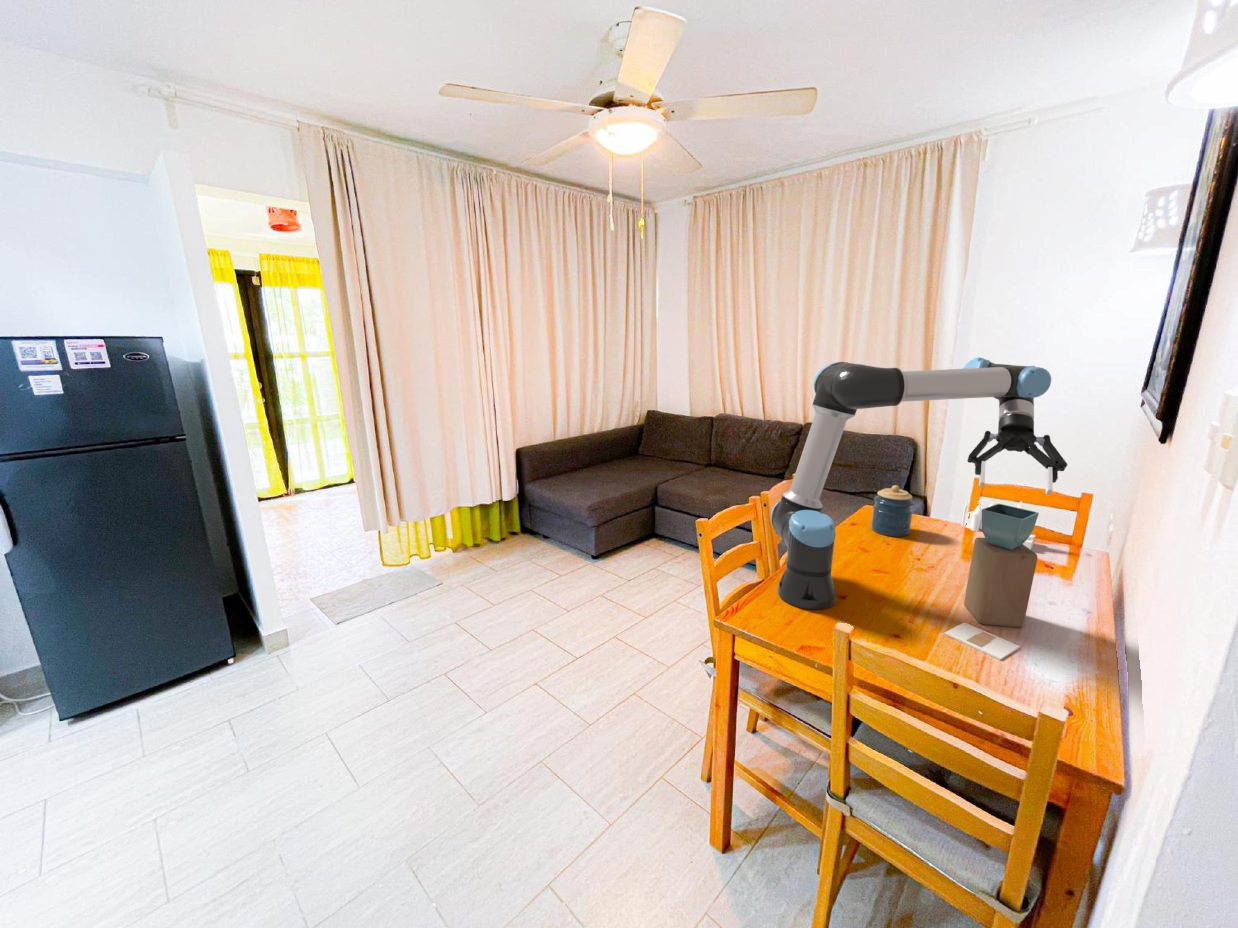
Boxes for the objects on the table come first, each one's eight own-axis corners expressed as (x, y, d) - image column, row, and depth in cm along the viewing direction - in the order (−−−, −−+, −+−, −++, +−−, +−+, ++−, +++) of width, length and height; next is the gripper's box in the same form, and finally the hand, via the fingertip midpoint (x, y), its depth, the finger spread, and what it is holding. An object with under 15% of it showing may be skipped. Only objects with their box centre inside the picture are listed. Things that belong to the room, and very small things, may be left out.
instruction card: (944, 634, 123) (944, 632, 123) (963, 623, 127) (964, 621, 127) (1000, 660, 113) (1000, 658, 113) (1019, 647, 117) (1020, 645, 117)
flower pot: (975, 542, 127) (980, 508, 124) (992, 535, 131) (998, 502, 129) (1016, 555, 119) (1023, 519, 117) (1032, 547, 124) (1039, 512, 121)
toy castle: (1027, 552, 168) (1037, 506, 164) (952, 527, 190) (959, 486, 186) (1052, 545, 174) (1061, 500, 170) (976, 522, 196) (983, 482, 192)
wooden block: (1024, 629, 124) (1040, 554, 120) (979, 625, 126) (993, 551, 122) (1003, 608, 134) (1017, 538, 129) (961, 605, 136) (973, 535, 131)
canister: (879, 522, 197) (885, 478, 192) (915, 531, 187) (922, 485, 183) (864, 530, 189) (869, 485, 184) (901, 540, 179) (907, 492, 175)
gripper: (1071, 432, 133) (1074, 503, 124) (958, 425, 145) (953, 489, 136) (1081, 415, 127) (1084, 487, 118) (962, 409, 139) (957, 474, 130)
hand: (1014, 488), depth 127 cm, fingers open, 13 cm apart
